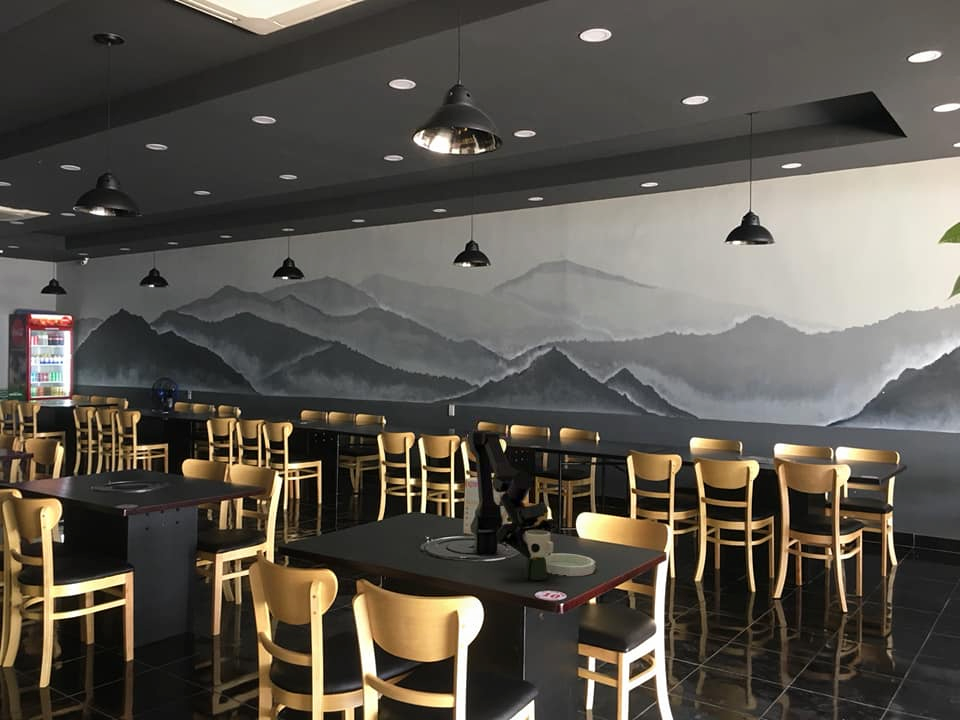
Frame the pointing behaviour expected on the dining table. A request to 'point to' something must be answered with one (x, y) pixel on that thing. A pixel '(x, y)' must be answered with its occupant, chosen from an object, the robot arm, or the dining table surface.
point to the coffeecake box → (473, 501)
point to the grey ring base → (569, 564)
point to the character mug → (537, 553)
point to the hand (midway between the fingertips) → (540, 556)
